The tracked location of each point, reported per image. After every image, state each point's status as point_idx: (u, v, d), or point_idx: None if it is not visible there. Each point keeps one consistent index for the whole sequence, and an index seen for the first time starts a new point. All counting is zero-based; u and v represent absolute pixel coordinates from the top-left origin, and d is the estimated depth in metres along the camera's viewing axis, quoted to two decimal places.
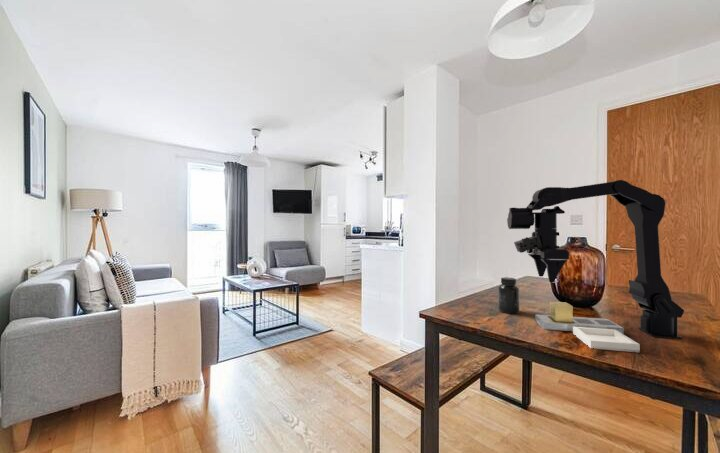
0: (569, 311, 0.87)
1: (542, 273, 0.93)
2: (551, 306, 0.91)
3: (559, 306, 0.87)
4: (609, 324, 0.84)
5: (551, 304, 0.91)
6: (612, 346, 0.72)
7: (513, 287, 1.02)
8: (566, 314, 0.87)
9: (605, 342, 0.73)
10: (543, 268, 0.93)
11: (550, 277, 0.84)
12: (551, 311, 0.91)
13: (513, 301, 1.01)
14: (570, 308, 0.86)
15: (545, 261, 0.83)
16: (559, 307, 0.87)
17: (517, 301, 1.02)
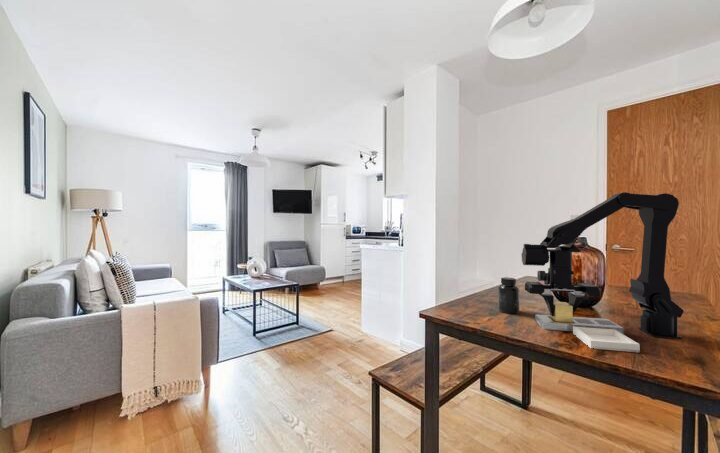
0: (569, 311, 0.87)
1: None
2: None
3: (559, 306, 0.87)
4: (609, 324, 0.84)
5: None
6: (612, 346, 0.72)
7: (513, 287, 1.02)
8: (566, 314, 0.87)
9: (605, 342, 0.73)
10: None
11: (549, 310, 0.90)
12: None
13: (513, 301, 1.01)
14: (570, 308, 0.86)
15: None
16: (559, 307, 0.87)
17: (517, 301, 1.02)
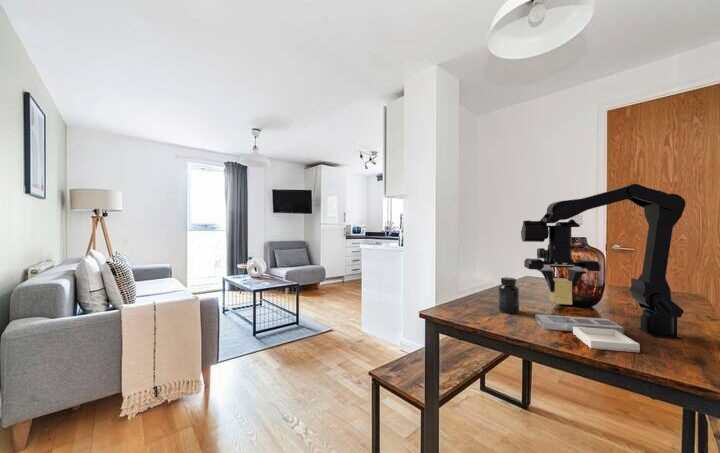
0: (568, 286, 0.87)
1: None
2: None
3: (558, 281, 0.87)
4: (609, 324, 0.84)
5: None
6: (612, 346, 0.72)
7: (513, 287, 1.02)
8: (565, 289, 0.87)
9: (605, 342, 0.73)
10: None
11: (548, 286, 0.90)
12: None
13: (513, 301, 1.01)
14: (569, 283, 0.86)
15: None
16: (559, 282, 0.87)
17: (517, 301, 1.02)
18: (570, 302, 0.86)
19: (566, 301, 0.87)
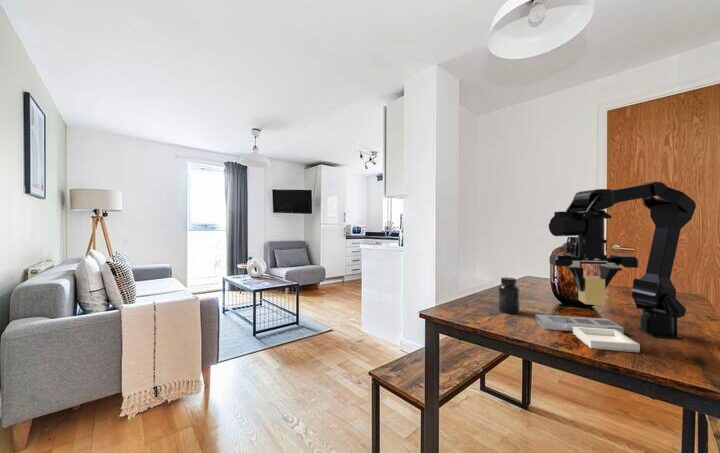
0: (601, 285, 0.77)
1: None
2: None
3: (589, 279, 0.78)
4: (609, 324, 0.84)
5: None
6: (612, 346, 0.72)
7: (513, 287, 1.02)
8: (597, 288, 0.78)
9: (605, 342, 0.73)
10: None
11: (577, 285, 0.81)
12: None
13: (513, 301, 1.01)
14: (602, 281, 0.77)
15: None
16: (590, 280, 0.78)
17: (517, 301, 1.02)
18: (603, 302, 0.77)
19: (598, 302, 0.78)
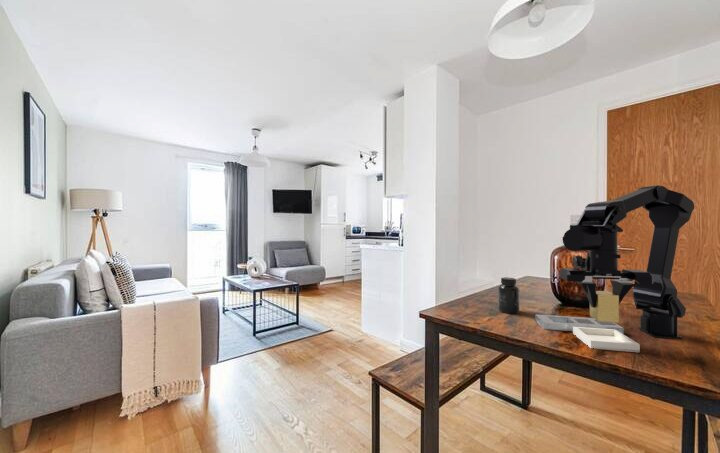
0: (614, 301, 0.74)
1: None
2: None
3: (603, 295, 0.75)
4: (609, 324, 0.84)
5: None
6: (612, 346, 0.72)
7: (513, 287, 1.02)
8: (611, 304, 0.75)
9: (605, 342, 0.73)
10: None
11: (589, 301, 0.78)
12: None
13: (513, 301, 1.01)
14: (616, 298, 0.74)
15: None
16: (603, 297, 0.75)
17: (517, 301, 1.02)
18: (617, 320, 0.74)
19: (612, 319, 0.75)
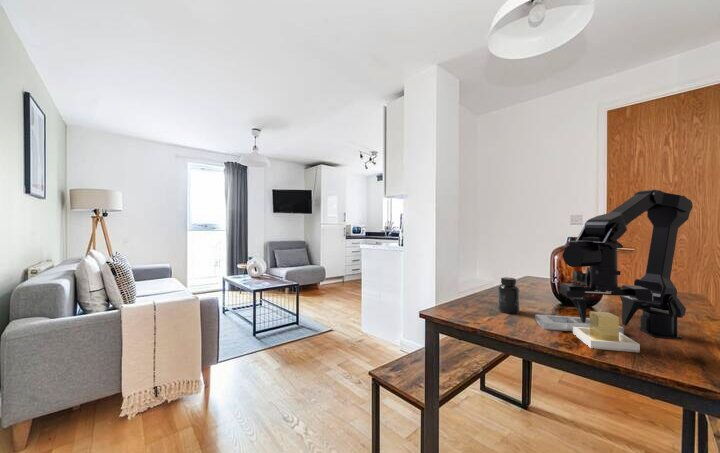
0: (614, 323, 0.74)
1: (624, 321, 0.75)
2: (592, 317, 0.78)
3: (603, 317, 0.75)
4: None
5: (592, 314, 0.78)
6: (612, 346, 0.72)
7: (513, 287, 1.02)
8: (611, 326, 0.75)
9: (605, 342, 0.73)
10: (625, 315, 0.75)
11: (580, 316, 0.79)
12: (592, 322, 0.78)
13: (513, 301, 1.01)
14: (616, 320, 0.74)
15: None
16: (603, 318, 0.75)
17: (517, 301, 1.02)
18: None
19: None
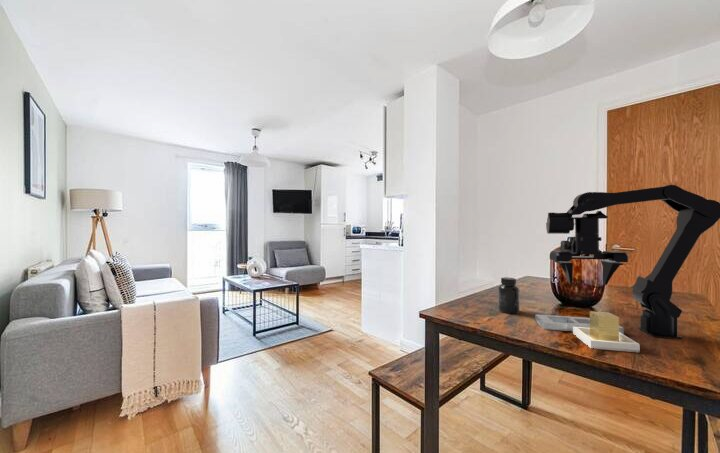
0: (614, 323, 0.74)
1: (604, 281, 0.87)
2: (592, 317, 0.78)
3: (603, 317, 0.75)
4: None
5: (592, 314, 0.78)
6: (612, 346, 0.72)
7: (513, 287, 1.02)
8: (611, 326, 0.75)
9: (605, 342, 0.73)
10: (605, 276, 0.87)
11: (567, 278, 0.90)
12: (592, 322, 0.78)
13: (513, 301, 1.01)
14: (616, 320, 0.74)
15: None
16: (603, 318, 0.75)
17: (517, 301, 1.02)
18: None
19: None
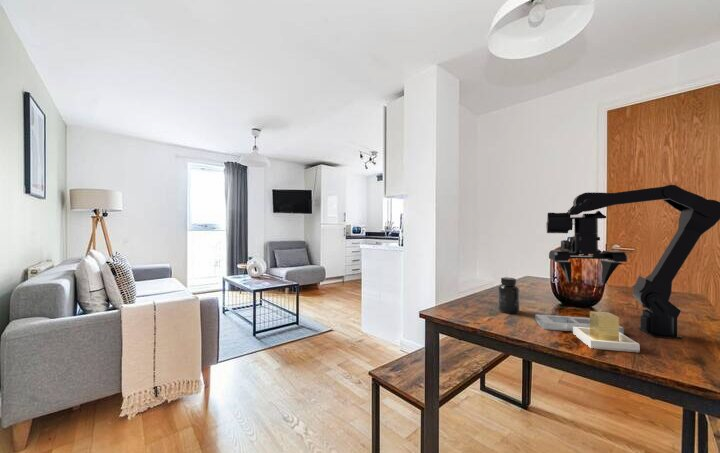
0: (614, 323, 0.74)
1: (603, 281, 0.88)
2: (592, 317, 0.78)
3: (603, 317, 0.75)
4: None
5: (592, 314, 0.78)
6: (612, 346, 0.72)
7: (513, 287, 1.02)
8: (611, 326, 0.75)
9: (605, 342, 0.73)
10: (604, 275, 0.88)
11: (566, 277, 0.92)
12: (592, 322, 0.78)
13: (513, 301, 1.01)
14: (616, 320, 0.74)
15: None
16: (603, 318, 0.75)
17: (517, 301, 1.02)
18: None
19: None
